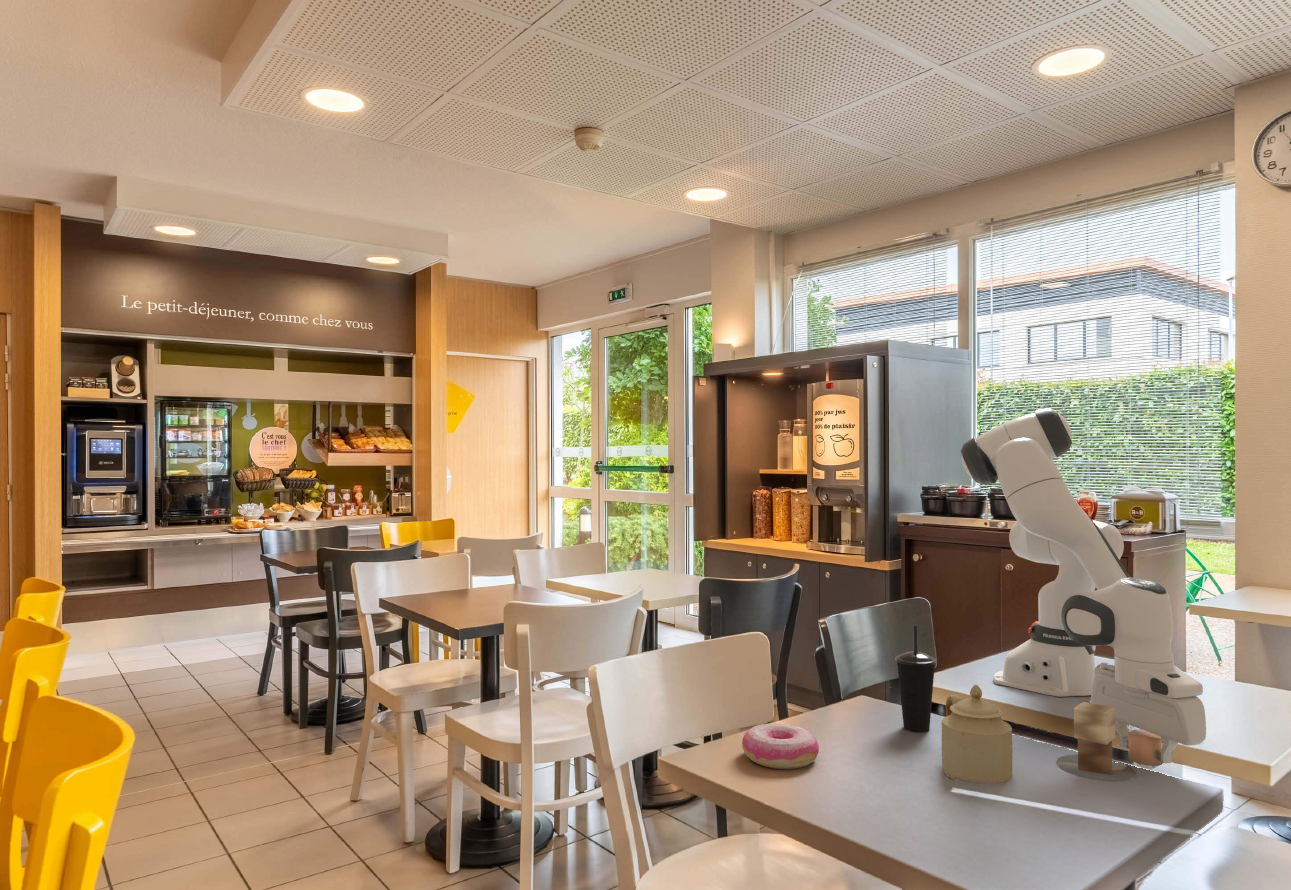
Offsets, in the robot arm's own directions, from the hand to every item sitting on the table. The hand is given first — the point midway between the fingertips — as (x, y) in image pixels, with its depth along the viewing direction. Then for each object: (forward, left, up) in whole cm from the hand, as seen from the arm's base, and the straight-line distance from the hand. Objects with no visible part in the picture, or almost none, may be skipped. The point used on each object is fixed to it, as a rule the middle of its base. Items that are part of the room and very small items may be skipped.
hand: (1145, 754), depth 143 cm
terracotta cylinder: (0, 0, -2) cm, 2 cm away
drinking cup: (-38, -6, -2) cm, 38 cm away
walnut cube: (-6, -9, -1) cm, 11 cm away
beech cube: (-6, -9, +4) cm, 12 cm away
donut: (-51, -37, -2) cm, 63 cm away
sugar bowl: (-23, -22, -2) cm, 32 cm away
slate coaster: (-6, -9, -2) cm, 11 cm away
